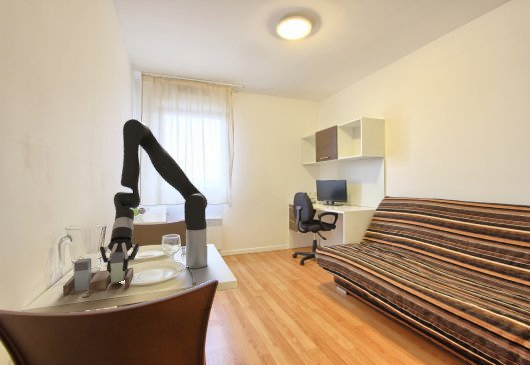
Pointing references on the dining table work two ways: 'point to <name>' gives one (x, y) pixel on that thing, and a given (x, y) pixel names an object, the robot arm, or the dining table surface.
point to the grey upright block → (117, 267)
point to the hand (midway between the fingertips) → (117, 270)
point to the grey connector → (82, 274)
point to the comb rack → (98, 283)
